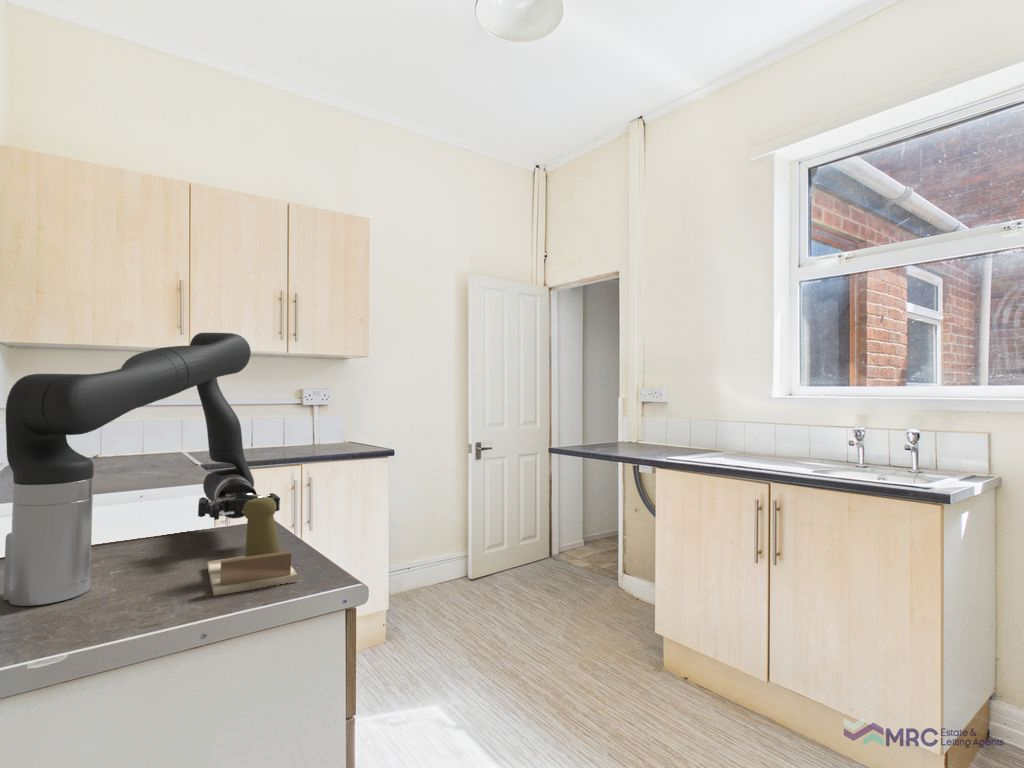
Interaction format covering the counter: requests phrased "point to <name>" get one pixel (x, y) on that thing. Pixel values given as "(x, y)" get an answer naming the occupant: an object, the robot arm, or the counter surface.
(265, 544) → the cork
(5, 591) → the robot arm
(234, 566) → the wooden stand base
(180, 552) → the counter surface
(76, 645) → the counter surface
